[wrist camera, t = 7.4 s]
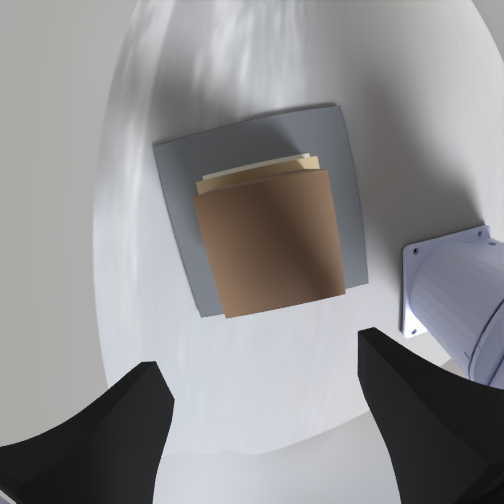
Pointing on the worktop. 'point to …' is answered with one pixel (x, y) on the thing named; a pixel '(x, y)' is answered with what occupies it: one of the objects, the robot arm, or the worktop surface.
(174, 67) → the worktop surface
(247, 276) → the walnut block
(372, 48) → the worktop surface
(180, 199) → the mat
